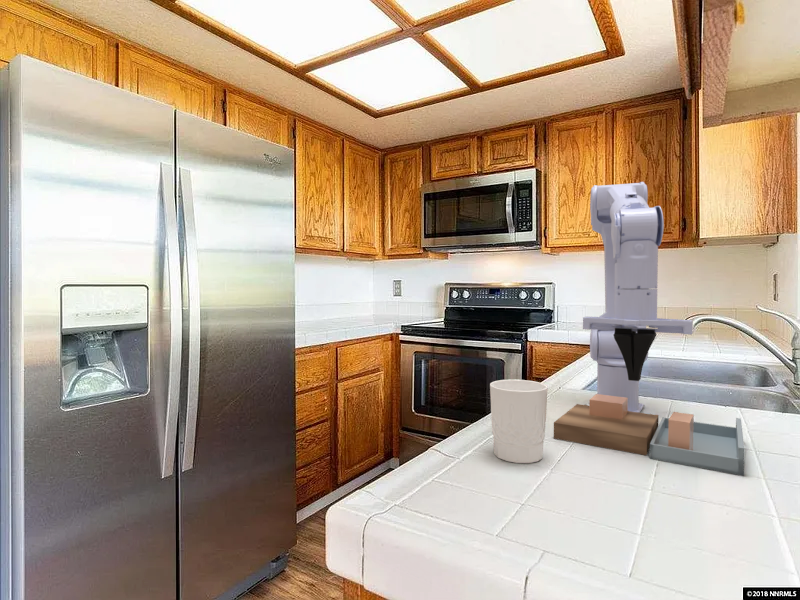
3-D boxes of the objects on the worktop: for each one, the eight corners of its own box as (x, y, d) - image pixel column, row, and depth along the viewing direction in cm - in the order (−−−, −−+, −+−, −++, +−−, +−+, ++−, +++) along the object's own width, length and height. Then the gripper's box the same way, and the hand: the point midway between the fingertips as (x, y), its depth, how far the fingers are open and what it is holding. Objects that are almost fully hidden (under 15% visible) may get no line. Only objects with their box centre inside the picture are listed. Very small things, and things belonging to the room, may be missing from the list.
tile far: (596, 408, 81) (596, 393, 81) (627, 412, 78) (627, 397, 78) (589, 414, 77) (589, 399, 77) (622, 419, 74) (622, 403, 74)
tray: (662, 429, 77) (662, 408, 77) (740, 441, 71) (740, 418, 71) (649, 458, 64) (649, 433, 64) (743, 476, 58) (744, 448, 58)
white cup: (482, 459, 64) (482, 387, 64) (498, 442, 71) (498, 377, 71) (541, 469, 60) (541, 393, 60) (551, 450, 67) (552, 382, 67)
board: (576, 417, 84) (577, 404, 84) (658, 430, 77) (658, 415, 77) (553, 438, 73) (553, 422, 73) (646, 455, 65) (646, 437, 65)
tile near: (673, 411, 68) (693, 414, 66) (673, 445, 68) (693, 449, 67) (668, 419, 64) (689, 422, 62) (668, 455, 64) (689, 459, 63)
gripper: (578, 289, 70) (577, 378, 70) (691, 289, 62) (689, 390, 62) (589, 288, 76) (588, 371, 76) (694, 289, 67) (692, 381, 68)
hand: (634, 379), depth 69 cm, fingers closed
